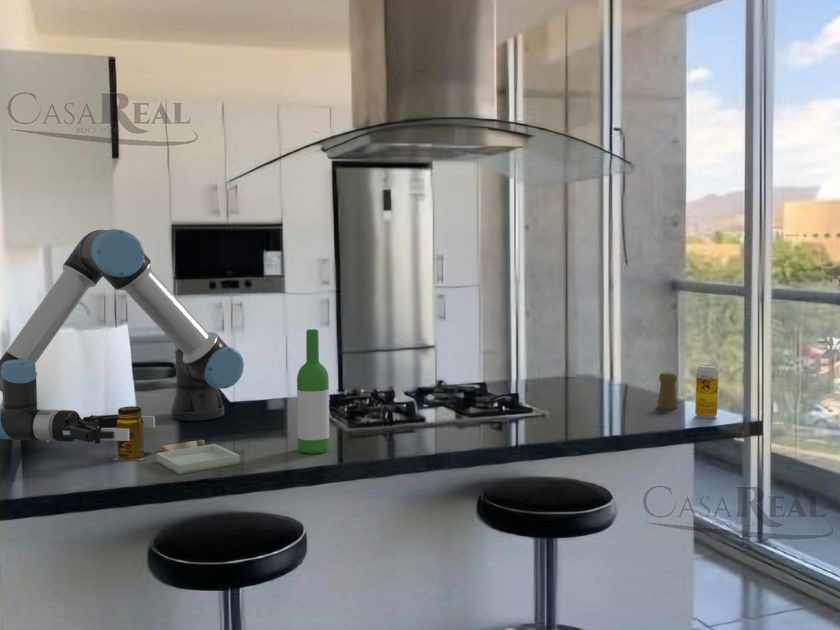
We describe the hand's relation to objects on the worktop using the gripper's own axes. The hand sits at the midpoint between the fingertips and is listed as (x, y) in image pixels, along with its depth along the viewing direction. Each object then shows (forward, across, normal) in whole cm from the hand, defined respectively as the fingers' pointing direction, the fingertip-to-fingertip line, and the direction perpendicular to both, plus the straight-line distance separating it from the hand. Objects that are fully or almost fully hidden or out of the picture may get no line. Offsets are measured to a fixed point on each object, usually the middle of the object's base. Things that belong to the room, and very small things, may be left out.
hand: (142, 428), depth 202 cm
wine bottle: (+39, -11, -7) cm, 41 cm away
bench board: (+8, -7, -7) cm, 12 cm away
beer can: (+144, -65, -7) cm, 158 cm away
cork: (+134, -77, -7) cm, 155 cm away
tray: (+15, +3, -7) cm, 17 cm away
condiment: (-2, 0, -7) cm, 8 cm away
